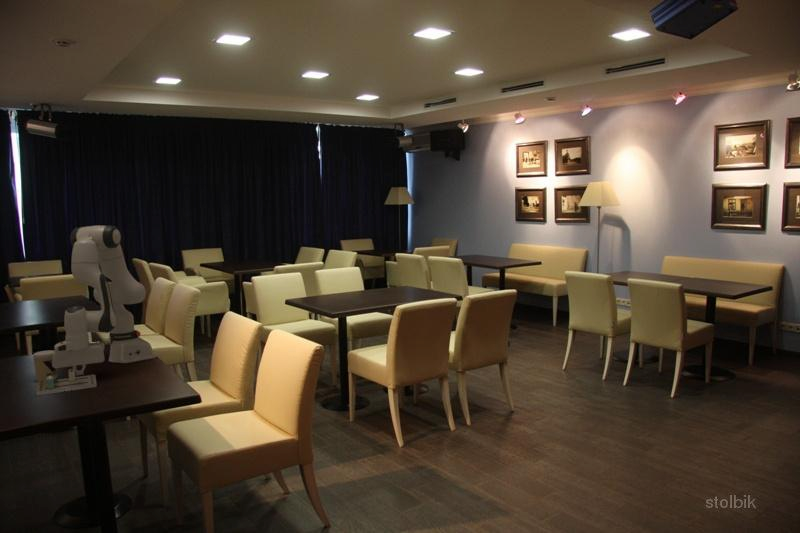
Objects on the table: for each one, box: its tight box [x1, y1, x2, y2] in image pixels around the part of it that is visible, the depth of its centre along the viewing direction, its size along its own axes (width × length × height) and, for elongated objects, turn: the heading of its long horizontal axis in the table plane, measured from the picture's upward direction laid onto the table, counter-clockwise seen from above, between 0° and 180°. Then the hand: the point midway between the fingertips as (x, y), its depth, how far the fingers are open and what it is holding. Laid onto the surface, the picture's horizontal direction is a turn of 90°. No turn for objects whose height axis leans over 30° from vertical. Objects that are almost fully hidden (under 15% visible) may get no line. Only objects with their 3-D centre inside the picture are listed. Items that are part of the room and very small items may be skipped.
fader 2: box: [68, 367, 76, 381], centre depth 261 cm, size 2×4×4 cm, turn 29°
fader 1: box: [46, 376, 55, 389], centre depth 251 cm, size 2×4×4 cm, turn 29°
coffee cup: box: [32, 349, 58, 382], centre depth 269 cm, size 9×9×12 cm
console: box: [36, 373, 98, 396], centre depth 257 cm, size 22×15×2 cm
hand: (79, 374), depth 263 cm, fingers closed
